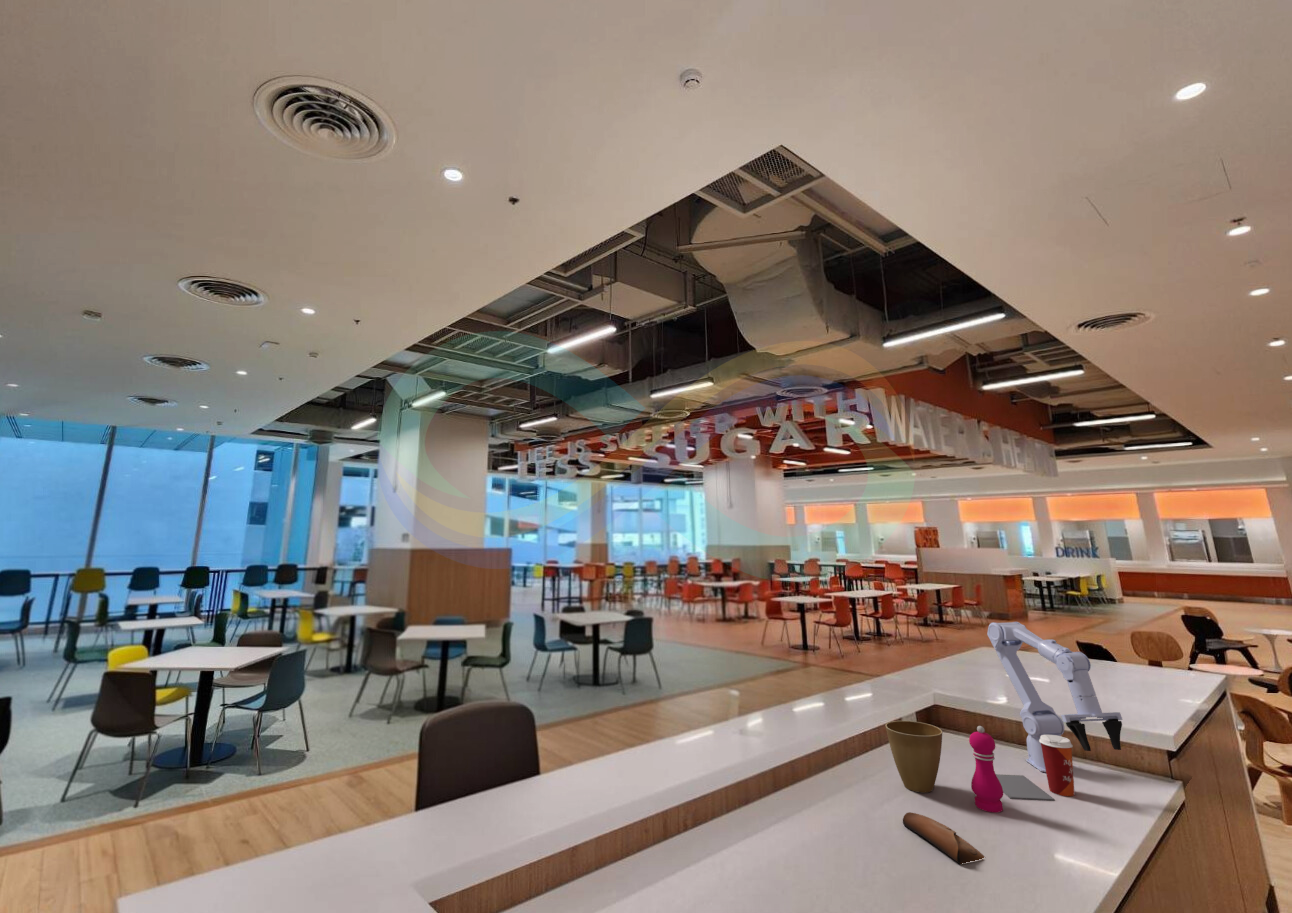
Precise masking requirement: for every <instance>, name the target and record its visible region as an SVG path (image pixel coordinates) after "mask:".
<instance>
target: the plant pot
mask: <svg viewBox="0 0 1292 913" xmlns="http://www.w3.org/2000/svg"><path fill="white" fill-rule="evenodd" d="M885 730H886V734H887V735H886V736H887V740H888V743H889V746H890V750H891V754H892V758H893V761H894V763H895V765H896V769H897V771H898V774H899V777H900V779H901V782H902V784H903V785H904V788H906V789H907V790H909V791H913V792H917V793H923V794H924V793H931V792H932V791H933V790H934V788H935V784H936V782H937V776H938V773H939V768H940V762H941V754H942V745H943V744H942V743H943V730H942V729H941V728H939V727H938V726H935V725H933V724H929V723H925V722H921V721H911V720H896V721H895V720H894V721H890V722H887V723H885Z"/></svg>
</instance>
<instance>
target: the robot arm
mask: <svg viewBox="0 0 1292 913" xmlns="http://www.w3.org/2000/svg"><path fill="white" fill-rule="evenodd" d="M986 635H987V637H988V638H989V641H990V642H991V645H992V647H993V648H994V650H995V652H996V654H997V657H998V658H999V661H1000V663H1001V665H1002V667H1003V669H1004V670H1005V673H1006V674H1007V676H1008V678H1009V680H1010V682H1011V684H1012V686H1013V687H1014V690H1015V692H1016V694H1017V696H1018V698H1019V699H1020V702H1021V703H1022V706H1023V707H1022V708H1021V710H1020V712H1019V716H1020V718H1021V721H1022V726H1023V729H1024V730H1025V732H1026V734H1028V735H1027V737H1026V748H1027V749H1026V750H1027V755H1028V756H1027V758H1025V761H1026V762H1028V764H1030V765H1031V766H1033V767H1034V768H1036V769H1037V770H1039V771H1040V772H1041V773H1046V769H1045V764H1044V758H1043V753H1042V747H1041V743H1040V742H1039V740H1040V736H1041V735H1057V736H1062V735H1064V733H1065V729H1066V728H1065V725H1066V727H1067V728H1068V729H1069V730H1070V731H1071V732H1072V734H1073V735H1074V736H1075V737H1076V740H1078V742H1079V743H1080V746H1081V747H1082V749H1083V750H1084V751H1086V752H1091V751H1092V750H1091V746H1090V743H1089V740H1088V736H1087V732H1086V724H1085V723H1083V722H1097V721H1098V722H1101V721H1102V723H1101V724H1102V726H1103V727H1104V728H1105V730H1106V733H1107V735H1108V738H1109V739H1110V740H1109V741H1110V742H1111V746H1112V748H1113V750H1114V751H1115V750H1116V751H1122V746H1121V733H1122V727H1123V722H1122V720H1123V717H1122V715H1121V714H1122V713H1121V712H1103V711H1102V708H1101V705H1100V702H1099V699H1098V697H1097V694H1096V691H1095V688H1094V685H1093V682H1092V680H1091V677H1090V673H1089V672H1090V671H1091V666H1092V665H1091V662H1090V659H1089V657H1088V656H1087V655H1086V654H1084V653H1083V651H1073V650H1070V648H1068V647H1065V646H1063V645H1061V644H1059V643H1057V641H1056V640H1055V639H1053V638H1051V639H1043V638H1041V637H1040V636H1039V635H1037V634H1035V633H1033V632H1032V631H1031V630H1029V629H1028V628H1027V627H1026V625H1025V624H1022V623H1020V622H1019V621H1012V622H990V623H989V625H988V628H987V634H986ZM1023 644H1027V645H1029V646H1030V647H1033V648H1034V649H1036V650H1037V652H1038V654H1039V655H1040V656H1042V658H1044V659H1045V660H1048V661H1049V662H1051V663H1053V664H1055V666H1056V667H1057V669H1058V670H1059V671H1060V673H1061V674H1062V676H1063V679H1065V680H1066V682H1067V683H1066V684H1067V685H1068V688H1069V691H1070V695H1071V698H1072V700H1073V703H1074V706H1075V709H1076V712H1077V713H1072V714H1071V713H1070V714H1060V716H1059V715H1058V713H1056V711H1055V710H1054V708H1053V707H1052V706H1050V705H1049V704H1047V703H1045V701H1043V700H1042V698H1041V697H1040V695H1039V693H1038V691H1037V689H1036V687H1035V686H1034V684H1033V682H1032V680H1031V678H1030V677H1029V674H1028V672H1027V671H1026V669H1025V667H1024V665H1023V663H1022V662H1021V660H1020V658H1019V656H1018V654H1017V652H1018V651H1019V650H1020V649H1021V647H1022V645H1023ZM1081 722H1082V723H1081Z"/></svg>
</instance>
